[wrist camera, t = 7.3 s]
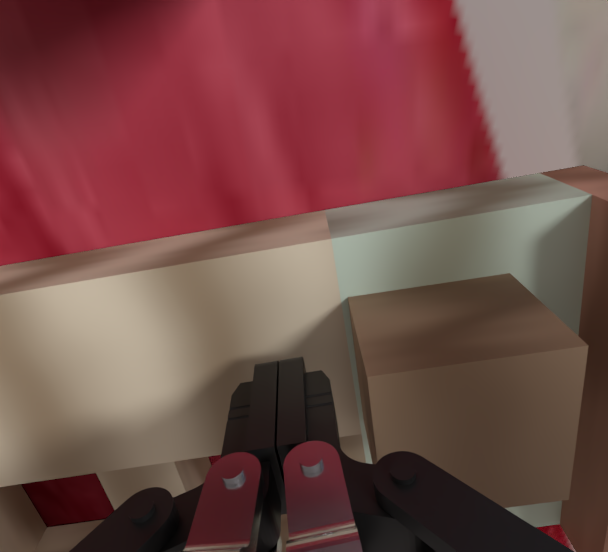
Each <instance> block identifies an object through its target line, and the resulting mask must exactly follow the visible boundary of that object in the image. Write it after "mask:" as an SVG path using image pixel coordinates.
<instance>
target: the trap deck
mask: <svg viewBox="0 0 608 552" xmlns="http://www.w3.org/2000/svg"><path fill="white" fill-rule="evenodd" d="M507 273H510V274H512V275H513V276H514V277H515V278H516V279H517V280H518V281H519V282H520V283H521V284H522V285H523V286H525V287H526V288H527V289H528V290H529V291H530V292H531V293H532V294H533V295H534V296H535V297H536V298H538V299H539V300H540V301H541V302H542V303H543V304H544V305H545V306H546V307H547V308H548V309H549V310H551V311H552V312H553V313H554V314H555V315H556V316H557V317H558V318H559V319H560V320H561V321H562V322H564V323H565V324H566V325H567V326H568V327H569V328H570V329H571V330H572V331H573V332H574V333H575V334H577V335H578V336H579V337H580V338H581V339H582V340H583V341H584V342H585V343H586V344H587V345H589V346H588V354H587V362H586V369H585V377H584V385H583V393H582V401H581V408H580V416H579V424H578V432H577V440H576V447H575V455H574V463H573V471H572V479H571V486H570V494H569V500H563V501H556V502H548V503H540V504H532V505H524V506H516V507H509V508H505V509H507V510H508V511H510V512H511V513H513V514H515V515H516V516H518V517H519V518H521V519H523V520H524V521H526V522H527V523H529V524H531V525H532V526H534V527H541V526H549V525H556V524H560V525H561V527H562V528H563V530H564V532H565V533H566V535H567V537H568V539H569V540H570V542H571V544H572V545H573V547H574V549H575V550H576V552H608V173H606V172H603V171H599V170H596V169H593V168H590V167H587V166H584V165H583V166H577V167H572V168H566V169H560V170H555V171H548V172H543V173H537V174H531V175H526V176H520V177H514V178H508V179H502V180H496V181H490V182H485V183H479V184H473V185H467V186H462V187H456V188H450V189H444V190H438V191H433V192H427V193H421V194H415V195H409V196H404V197H398V198H392V199H386V200H380V201H375V202H369V203H363V204H357V205H351V206H346V207H340V208H334V209H328V210H322V211H317V212H311V213H305V214H299V215H294V216H288V217H282V218H276V219H270V220H265V221H259V222H253V223H247V224H241V225H236V226H230V227H224V228H218V229H212V230H207V231H201V232H195V233H189V234H183V235H178V236H172V237H166V238H160V239H154V240H149V241H143V242H137V243H131V244H126V245H120V246H114V247H108V248H102V249H97V250H91V251H85V252H79V253H73V254H68V255H62V256H56V257H50V258H44V259H39V260H33V261H27V262H21V263H15V264H10V265H4V266H0V552H69V551H70V550H71V549H73V548H74V547H75V546H76V545H77V544H78V543H79V542H80V541H81V540H83V539H84V538H85V537H86V536H87V535H88V534H89V533H90V532H91V531H93V530H94V529H95V528H96V527H97V526H98V525H99V524H100V523H101V522H103V521H104V520H105V519H103V520H96V521H89V522H82V523H75V524H68V525H61V526H54V527H46V525H45V523H44V522H43V520H42V518H41V517H40V515H39V513H38V512H37V510H36V508H35V507H34V505H33V504H32V502H31V500H30V499H29V497H28V495H27V494H26V492H25V490H24V489H23V487H22V485H21V484H25V483H31V482H38V481H45V480H52V479H59V478H65V477H72V476H79V475H86V474H93V473H96V474H97V476H98V478H99V480H100V482H101V484H102V486H103V488H104V490H105V492H106V494H107V496H108V498H109V500H110V502H111V504H112V506H113V508H114V510H116V509H117V508H118V507H119V506H120V505H121V504H123V503H124V502H125V501H126V500H127V499H128V498H130V497H131V496H132V495H134V494H135V493H137V492H139V491H141V490H144V489H147V488H151V487H161V488H164V489H166V490H168V491H169V492H170V493H171V495H172V497H176V496H178V495H180V494H183V493H185V492H187V491H189V490H192V489H194V488H196V487H198V486H199V485H201V484H203V483H204V481H205V478H206V475H207V473H208V471H209V469H210V468H211V463H210V460H209V457H208V456H215V455H221V453H222V447H223V441H224V436H225V430H226V424H227V421H228V413H229V410H230V408H229V407H230V402H231V396H232V394H233V393H234V391H235V390H236V388H237V387H238V386H239V384H240V383H244V382H250V381H253V374H254V366H255V364H260V363H266V362H272V361H280V360H284V359H290V358H296V357H303V359H304V363H305V368H306V372H313V371H319V370H322V371H323V372H324V374H325V375H326V376H327V377H328V378H329V379H330V384H331V389H332V395H333V401H334V406H335V412H336V417H337V424H338V432H339V439H340V446H341V450H342V451H343V452H344V453H345V454H346V455H347V456H348V457H350V458H351V459H353V460H356V461H358V462H362V463H369V464H372V459H371V454H370V449H369V444H368V439H367V434H366V430H365V425H364V419H363V412H362V404H361V396H360V389H359V381H358V373H357V366H356V358H355V350H354V343H353V335H352V327H351V320H350V312H349V304H348V297H353V296H359V295H366V294H373V293H379V292H386V291H393V290H399V289H406V288H413V287H420V286H426V285H433V284H440V283H446V282H453V281H460V280H467V279H473V278H480V277H487V276H493V275H500V274H507ZM280 535H281V538H282V552H286V541H288V540H289V532H288V519H287V514H283V515H281V532H280Z"/></svg>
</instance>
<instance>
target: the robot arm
mask: <svg viewBox="0 0 608 552" xmlns="http://www.w3.org/2000/svg"><path fill="white" fill-rule="evenodd" d="M229 408H230V410H229V413H228V421H227V424H226V430H225V436H224V441H223V447H222V453H221V458H220V459H219V460H218V461H216V462H215V463H214V464H213V465H212V466H211V468H210V469H209V471H208V473H207V475H206V478H205V481H204V483H203V484H201V485H199V486H198V487H196V488H194V489H192V490H189V491H187V492H185V493H183V494H180V495H178V496H176V497H172V495H171V493H170V492H169V491H168V490H166V489H164V488H161V487H151V488H147V489H144V490H141V491H139V492H137V493H135V494H134V495H132V496H131V497H130V498H128V499H127V500H126V501H125V502H124V503H123V504H121V505H120V506H119V507H118V508H117V509H116V510H115V511H114V512H113V513H111V514H110V515H109V516H108V517H107V518H106V519H105V520H104V521H103V522H101V523H100V524H99V525H98V526H97V527H96V528H95V529H94V530H93V531H91V532H90V533H89V534H88V535H87V536H86V537H85V538H84V539H83V540H81V541H80V542H79V543H78V544H77V545H76V546H75V547H74V548H73V549H71V550H70V551H69V552H282V538H281V535H280V532H281V515H283V514H287V519H288V532H289V540H288V541H286V552H574V551H572V550H570V549H569V548H567V547H566V546H564V545H562V544H561V543H559V542H558V541H556V540H554V539H553V538H551V537H550V536H548V535H546V534H545V533H543V532H542V531H540V530H538V529H537V528H535V527H534V526H532V525H531V524H529V523H527V522H526V521H524V520H523V519H521V518H519V517H518V516H516V515H515V514H513V513H511V512H510V511H508V510H507V509H505V508H503V507H502V506H500V505H499V504H497V503H495V502H494V501H492V500H491V499H489V498H487V497H486V496H484V495H483V494H481V493H479V492H478V491H476V490H475V489H473V488H471V487H470V486H468V485H467V484H465V483H463V482H462V481H460V480H459V479H457V478H456V477H454V476H452V475H451V474H449V473H448V472H446V471H444V470H443V469H441V468H440V467H438V466H436V465H435V464H433V463H432V462H430V461H428V460H427V459H425V458H424V457H422V456H420V455H418V454H416V453H413V452H408V451H397V452H392V453H389V454H387V455H385V456H383V457H382V458H381V459H380V460H379V461H378V462H377V463H376V464H369V463H362V462H358V461H356V460H353V459H351V458H350V457H348V456H347V455H346V454H345V453H344V452H343V451H342V450H341V446H340V439H339V432H338V424H337V417H336V412H335V406H334V401H333V395H332V389H331V384H330V379H329V378H328V377H327V376H326V375H325V374H324V372H323V371H322V370H319V371H313V372H306V368H305V363H304V359H303V357H296V358H290V359H284V360H280V361H272V362H266V363H260V364H255V366H254V374H253V381H250V382H244V383H240V384H239V386H238V387H237V388H236V390H235V391H234V393H233V394H232V396H231V402H230V407H229Z"/></svg>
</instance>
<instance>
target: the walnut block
mask: <svg viewBox="0 0 608 552" xmlns="http://www.w3.org/2000/svg"><path fill="white" fill-rule="evenodd" d="M348 304H349V312H350V320H351V327H352V335H353V343H354V350H355V358H356V366H357V373H358V381H359V389H360V396H361V404H362V412H363V419H364V425H365V430H366V434H367V439H368V444H369V449H370V454H371V459H372V464H376V463H377V462H378V461H379V460H380V459H381V458H382V457H383V456H385V455H387V454H389V453H392V452H397V451H408V452H413V453H416V454H418V455H420V456H422V457H424V458H425V459H427V460H428V461H430V462H432V463H433V464H435V465H436V466H438V467H440V468H441V469H443V470H444V471H446V472H448V473H449V474H451V475H452V476H454V477H456V478H457V479H459V480H460V481H462V482H463V483H465V484H467V485H468V486H470V487H471V488H473V489H475V490H476V491H478V492H479V493H481V494H483V495H484V496H486V497H487V498H489V499H491V500H492V501H494V502H495V503H497V504H499V505H500V506H502V507H503V508H509V507H516V506H524V505H532V504H540V503H548V502H556V501H563V500H569V494H570V486H571V479H572V471H573V463H574V455H575V447H576V440H577V432H578V424H579V416H580V408H581V401H582V393H583V385H584V377H585V369H586V362H587V354H588V346H589V345H587V344H586V343H585V342H584V341H583V340H582V339H581V338H580V337H579V336H578V335H577V334H575V333H574V332H573V331H572V330H571V329H570V328H569V327H568V326H567V325H566V324H565V323H564V322H562V321H561V320H560V319H559V318H558V317H557V316H556V315H555V314H554V313H553V312H552V311H551V310H549V309H548V308H547V307H546V306H545V305H544V304H543V303H542V302H541V301H540V300H539V299H538V298H536V297H535V296H534V295H533V294H532V293H531V292H530V291H529V290H528V289H527V288H526V287H525V286H523V285H522V284H521V283H520V282H519V281H518V280H517V279H516V278H515V277H514V276H513V275H512V274H510V273H507V274H500V275H493V276H487V277H480V278H473V279H467V280H460V281H453V282H446V283H440V284H433V285H426V286H420V287H413V288H406V289H399V290H393V291H386V292H379V293H373V294H366V295H359V296H353V297H348Z"/></svg>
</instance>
